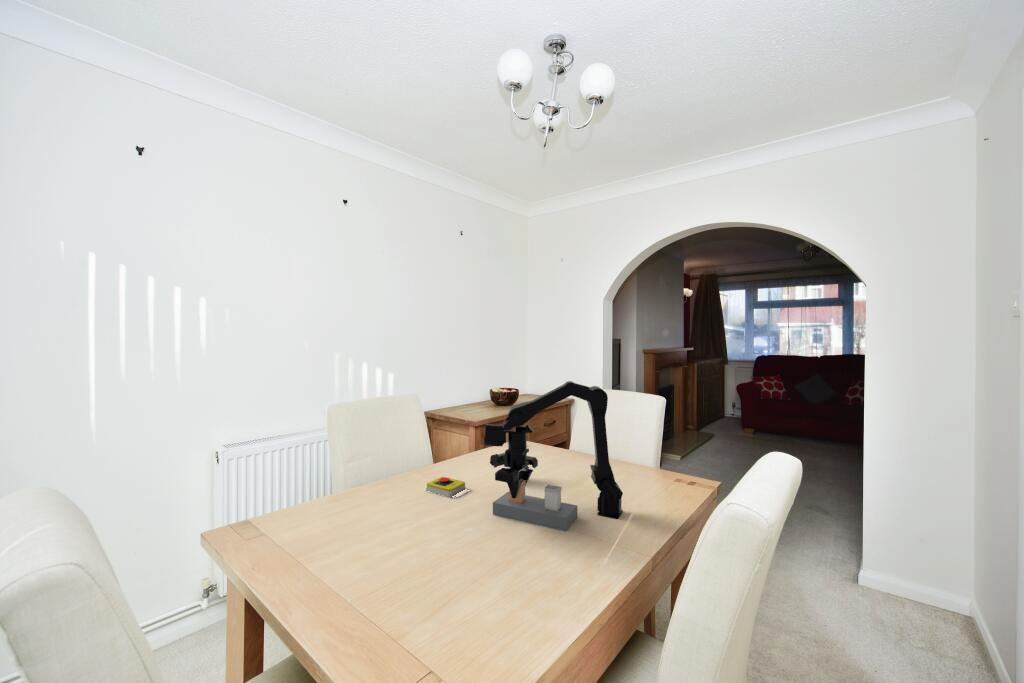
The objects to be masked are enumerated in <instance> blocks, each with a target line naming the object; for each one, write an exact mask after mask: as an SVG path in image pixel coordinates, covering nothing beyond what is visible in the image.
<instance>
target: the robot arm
mask: <svg viewBox="0 0 1024 683" xmlns="http://www.w3.org/2000/svg"><path fill="white" fill-rule="evenodd" d="M571 396H572V397H575V398H578V399H581V400H583V401H586V402H587V405H588V409H589V412H590V414H591V421H592V423H591V424H592V432H593V434H592V435H593V443H594V444H593V445H594V456H595V460H594V464H590V470H591V475H590V478H591V480H592V482H593V484H594V485H595V486H596V488H597V489H598V490H599V491H600V493H599V495H598V497H597V511H598V512H597V516H600V517H605V518H611V519H615V520H618V519H620V517H621V515H622V513H624V510H623V509H622V497H623V494H624V493H623V491H622V489H621V488H620V486H619V484H618V483H617V481H616V480H615V479H616V478H615V476H614V473H613V470H612V466H611V463H610V459H609V457H610V456H609V447H608V446H609V445H608V435H607V425H606V414H607V410H608V401H609V400H608V399H609V398H608V393H607V392H606V391H605V390H604V389H603V388H601V387H600V386H595V385H593V386H587V385H585V384H584V385H583V384H579V383H577V382H574V381H571V380H570V381H569V380H568V381H565V383H563V384H562V385H559V386H557V387H556V388H554V389H552V390H550V391H548V392H547V393H544V394H542V395H541V396H537V398H534V399H533V400H529V401H523V402H520V403H518V404H514V405H512V406H511V407H510V408H509V410H508V415H507V418H506V419H505V420H503V422H502V424H492V423H486V424H485V430H484V436H483V437H484V438H483V442H484V447H503V446H504V444H506V443H507V445H508V447H507V448H508V449H506V450H504V452H502V453H499V454H498V453H495V454H492V455H490V458H489V464H490V465H491V466H493V468H494V469H495V468H497V467H500V466H504V467H510V469H508V468H504V467H502V468H500V469H499V470H497V471H496V472H495V473H494V480H495V481H497V482H503V483H506V484H507V486H508V490H510V493H511V496H512V498H514V499H515V498H516V496H517V493H518V490H519V486H520V483H521V480H526V484H525V487H526V486H527V483H528V481H529V480H530V478H531V475H532V474H533V472H534V469H536V468H537V467H538V466H539V460H538V459H537V457H536V456H535V457H534V456H528V455H527V454H528V453H529V452H530V448H528V447H527V434H532V433H533V432H534V431H533V428H532V427H531V426H530V425H529V424H528V422H529V421H531V419H532V418H534V417H535V416H536V415H537V414H538V413H540V412H542V411H544V410H545V409H547V408H549V407H552V406H553V405H555V404H558V403H559V402H561V401H563V400H565V399H568V398H569V397H571ZM507 434H508V435H507ZM507 437H508V438H507ZM507 439H508V440H507ZM507 441H508V442H507ZM530 466H531V468H533V469H531V468H530Z"/></svg>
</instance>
